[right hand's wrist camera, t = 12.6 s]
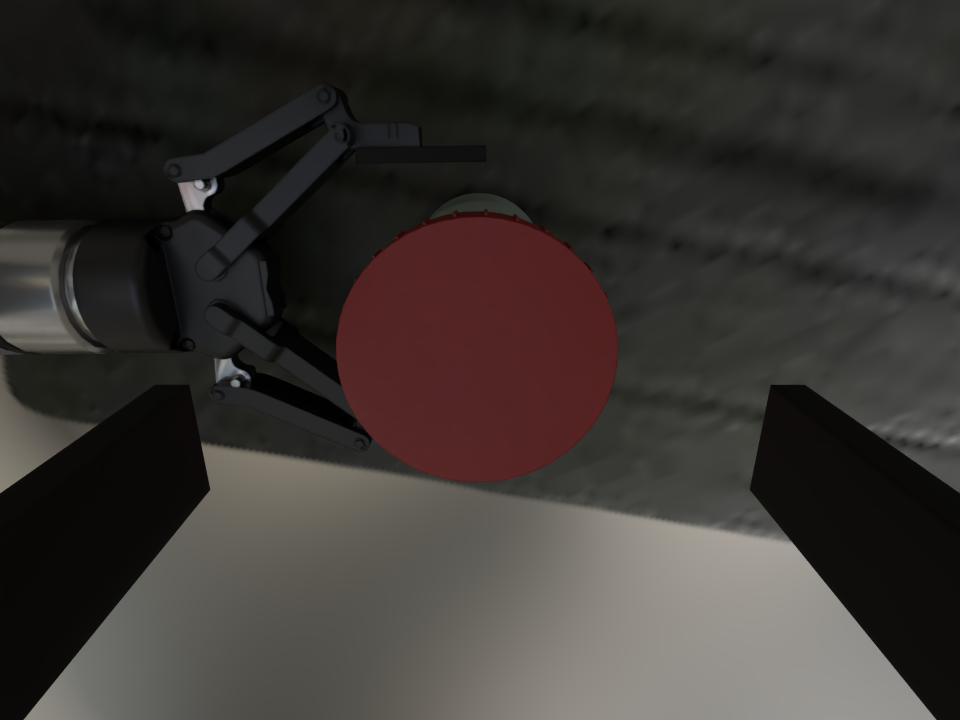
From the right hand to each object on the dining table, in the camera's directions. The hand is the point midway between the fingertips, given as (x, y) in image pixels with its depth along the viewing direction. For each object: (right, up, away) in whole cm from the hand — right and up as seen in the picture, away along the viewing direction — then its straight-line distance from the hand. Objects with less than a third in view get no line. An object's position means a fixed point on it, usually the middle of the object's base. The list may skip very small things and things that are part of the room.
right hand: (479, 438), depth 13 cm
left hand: (0, +6, +18) cm, 19 cm away
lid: (0, +2, +6) cm, 6 cm away
